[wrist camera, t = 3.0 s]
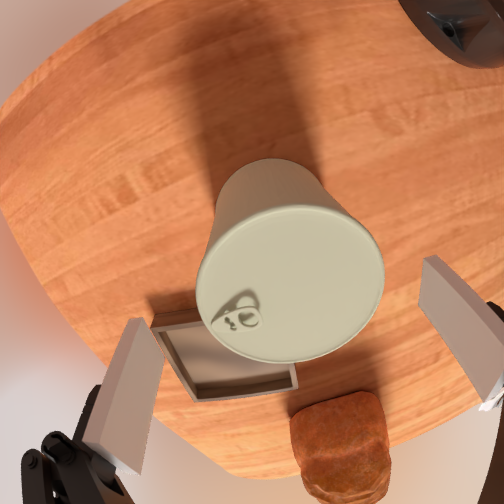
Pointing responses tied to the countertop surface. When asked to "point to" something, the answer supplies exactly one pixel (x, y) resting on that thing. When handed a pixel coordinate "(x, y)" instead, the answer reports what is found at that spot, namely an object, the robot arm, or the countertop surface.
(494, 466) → the robot arm
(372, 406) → the bread
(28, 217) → the countertop surface
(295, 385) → the tray
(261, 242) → the can
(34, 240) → the countertop surface
